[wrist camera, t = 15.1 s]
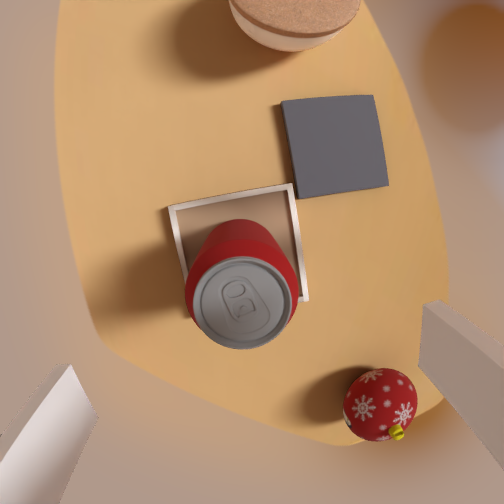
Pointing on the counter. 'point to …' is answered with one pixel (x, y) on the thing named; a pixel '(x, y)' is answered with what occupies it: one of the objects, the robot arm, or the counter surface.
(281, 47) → the lidded jar
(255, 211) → the board
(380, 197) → the counter surface
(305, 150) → the pad
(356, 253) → the counter surface
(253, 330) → the beverage can
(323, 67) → the counter surface
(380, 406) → the christmas ornament
